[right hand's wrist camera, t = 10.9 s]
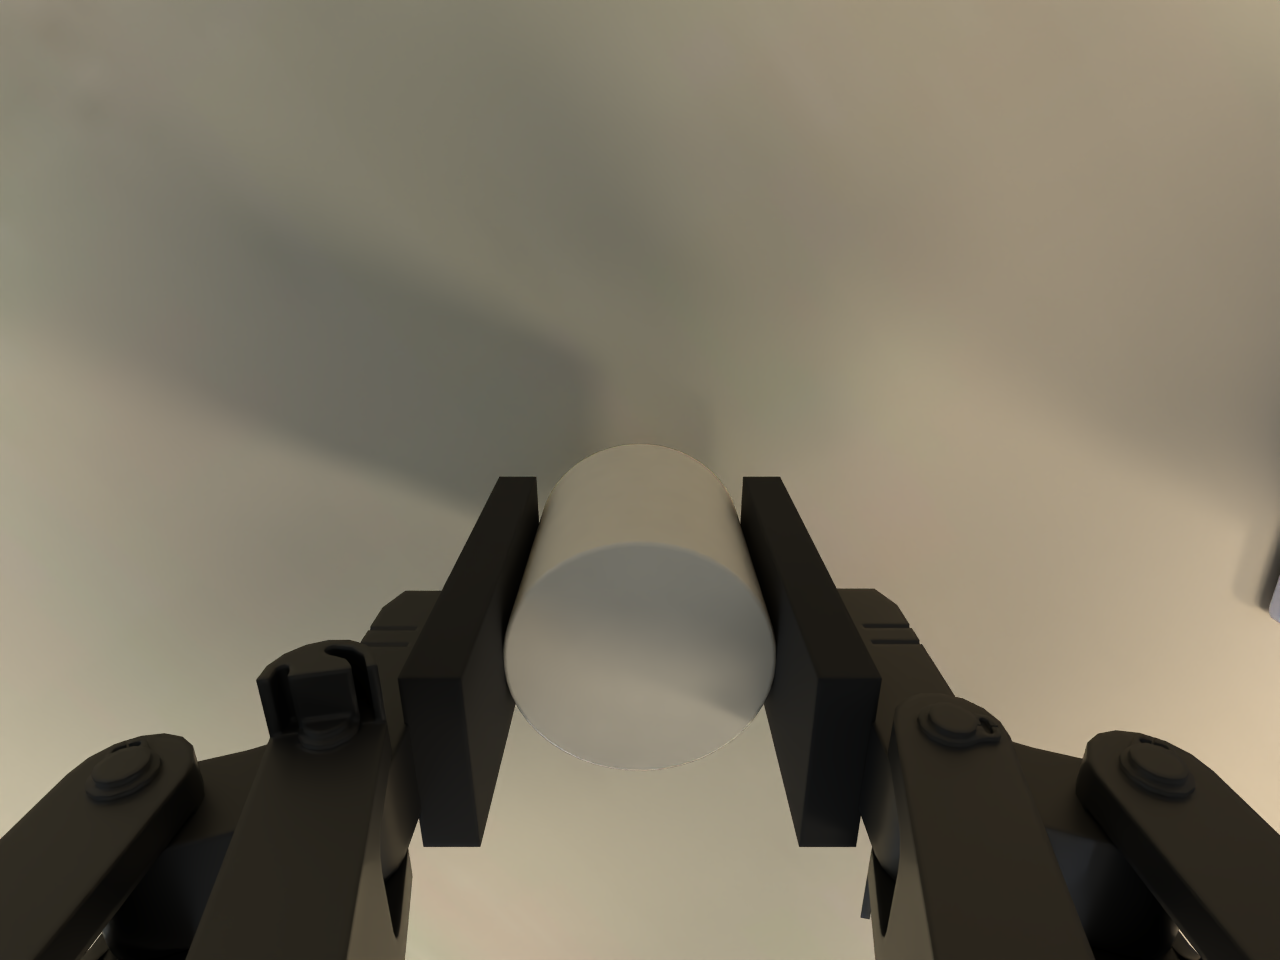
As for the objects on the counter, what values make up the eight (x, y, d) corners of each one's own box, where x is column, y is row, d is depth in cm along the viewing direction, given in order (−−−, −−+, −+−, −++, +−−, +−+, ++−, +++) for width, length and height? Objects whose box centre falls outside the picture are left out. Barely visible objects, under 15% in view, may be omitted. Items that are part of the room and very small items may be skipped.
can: (655, 401, 14) (662, 486, 10) (777, 549, 15) (831, 682, 11) (499, 523, 15) (444, 648, 11) (626, 653, 16) (621, 812, 12)
